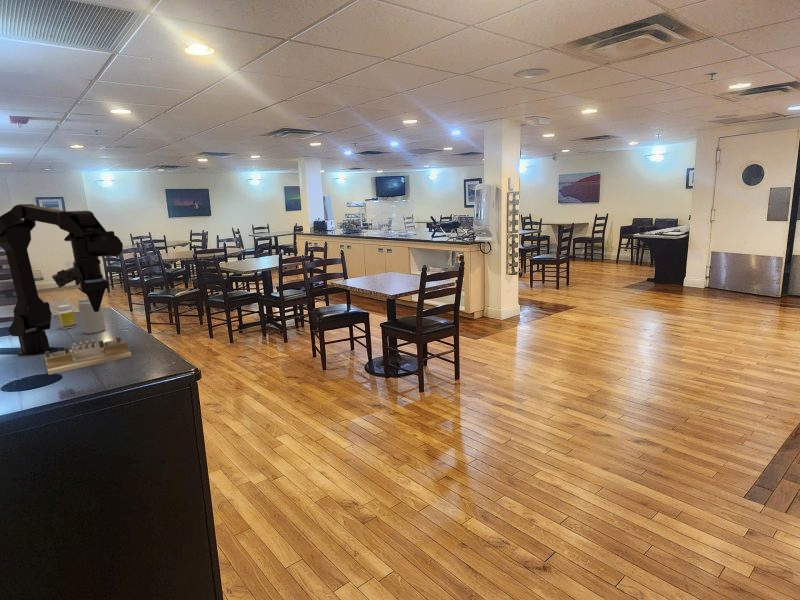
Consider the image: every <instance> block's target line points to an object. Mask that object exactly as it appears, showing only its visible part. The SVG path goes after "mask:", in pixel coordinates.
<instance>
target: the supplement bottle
mask: <svg viewBox="0 0 800 600" xmlns="http://www.w3.org/2000/svg"><path fill="white" fill-rule="evenodd" d="M57 310H58V312H57V317H58V320H59V321H58V322H59V325H60V329H61V330H68V329H67V328H71V329H74V328H77V322H76V318H75V313H74V309H72V305H71V304H62V305H58V306H57ZM73 327H74V328H73Z"/></svg>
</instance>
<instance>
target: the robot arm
mask: <svg viewBox="0 0 800 600" xmlns="http://www.w3.org/2000/svg"><path fill="white" fill-rule="evenodd" d="M36 222H40V223H44V224H50V225H55V226H57V227H58V228H59V229H60V230H62V231H64V232H67V233H68V234H67V236H65V237H64V239H63V240H64V241H65V242H70V244H71V249H72V255H73V260H74V261H73V262H72V265H73V266H72V267H70V268H69V267H68V268H67V269H61V270H59V271H57V273H55V274H53V275H52V276H51V279H53V281H54V282H55V284H56V285H57V286H58V288H62V287H65V286H66V285H67V284H69V283H72V282H74V284H75V286H79V287H78V290H79V291H80V292H82V294H85V295H86V298H88V299H89V301H90V304H91V306H92V308H93V311H94V312H98V311H99V309H100V305H101V304H102V301H103V298H104V294H105V292H106V290H108V289H110V287H109V286H110V285H109V281H108V280H106V279H105V278H104V274H102V269H101V259H100V258H101V257H118V256H120V255H121V254H122V251H123V249H124V244H123V242H122V241H121V238H120V237H118V236H117V235H115V231H114V230H108V231H107V230H106V229H105V227H104V226H103V225H102V224H101V223H100V221H99V220H98V219H97V217H96V216H95V214H94V213H93V212H92V211H91V210H68V211H67V210H61V209H55V208H50V207H44V206H41V205H35V204H33V203H28V204H27V203H26V204H25V203H24V204H23V203H21V204H19V203H18V204H16V205H14V206H13V207H12V208H11V209H10V210H9V211H7V212H5V213H3V214H2V215H0V248H2V249H3V251H4V252H5V255H6V259H7V263H8V267H9V270H10V274H11V275H10V276H11V278H12V283H13V287H14V290H15V295H16V298H17V301H16V304H15V306H14V308H13V318H14V319H13V321H12V322H11V324H10V326H9V329H8V332H9V334H10V336H11V337H18V341H19V345H20V349H21V352H18V353H17V356H31V355H39V354H42V353H45V352H46V351H49V350H52V349H54V346H50V343H49V339H48V335H47V333H46V330H49V329H51V323H52V321H51V320H52V315H53V313H52V312H51V308H50V303H49V302H48V301H43V299H41V298H40V296H39V293H38V289H37V286H36V280H35V275H34V272H33V269H32V264H31V261H30V260H31V259H30V256H29V251H28V248H29V245H30V243H31V241H32V234H31V232H32V231H33V229H34V228H35V227H36V225H37V224H36ZM99 257H100V258H99Z"/></svg>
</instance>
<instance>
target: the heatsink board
mask: <svg viewBox="0 0 800 600" xmlns="http://www.w3.org/2000/svg"><path fill="white" fill-rule="evenodd" d="M115 341H116V342H117V344H113V345H108V346H106V345H105V343H104V340H98V342H97V341H96V340H95V339H93V338H92V339H91V342H89V340H85V343H84V342H82V341H79V342H78V344H76V343H77V342H74V343H72V345H71V349H70V348H69V347H68V346H67V347H63V350H62V351H63V352H64V355H59V356H54V357H53V356H52V355H51V353H50V351H49V350H47V351H45V352H44V356H43V357H44V360H45V364H46V370H47V373H48V376H49V375H54V374H57V373H64V372H66V371H67V372H68V371H72V370H76V369H80V368H85V367H90V366H94V365H99V364H103V363H107V362H111V361H116V360H121V359H125V358H130V357H132V352H131V351H130V350H129V346H128V342H127V341H122V338H121V337H120V336H117V337H115Z"/></svg>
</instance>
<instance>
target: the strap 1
mask: <svg viewBox="0 0 800 600" xmlns="http://www.w3.org/2000/svg"><path fill="white" fill-rule="evenodd" d="M63 351H64V350H58V351H54V352H51V353H50V354H51V355H52V356H53V357H54V356H59V355H64V352H63Z"/></svg>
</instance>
